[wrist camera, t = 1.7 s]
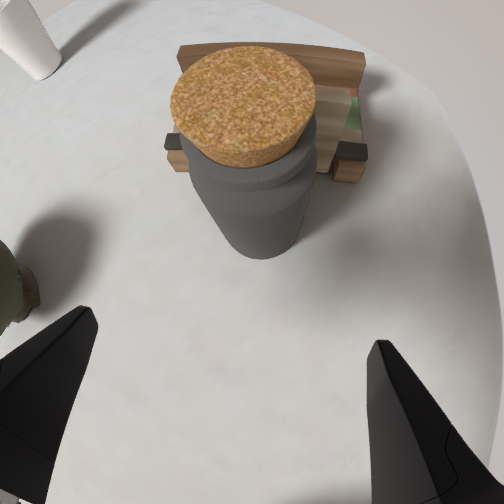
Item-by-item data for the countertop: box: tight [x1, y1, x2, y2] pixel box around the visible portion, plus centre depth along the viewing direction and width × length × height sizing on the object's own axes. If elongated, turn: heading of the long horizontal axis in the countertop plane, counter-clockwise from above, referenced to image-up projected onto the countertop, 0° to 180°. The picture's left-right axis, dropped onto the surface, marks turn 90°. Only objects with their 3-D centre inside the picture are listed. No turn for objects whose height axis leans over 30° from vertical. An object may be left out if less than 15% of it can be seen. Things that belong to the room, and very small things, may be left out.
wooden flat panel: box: [164, 85, 368, 173], centre depth 19 cm, size 1×15×9 cm, turn 85°
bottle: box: [170, 46, 317, 259], centre depth 16 cm, size 6×6×15 cm
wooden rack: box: [167, 42, 366, 183], centre depth 22 cm, size 10×15×6 cm, turn 85°
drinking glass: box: [0, 0, 62, 81], centre depth 23 cm, size 7×7×15 cm
